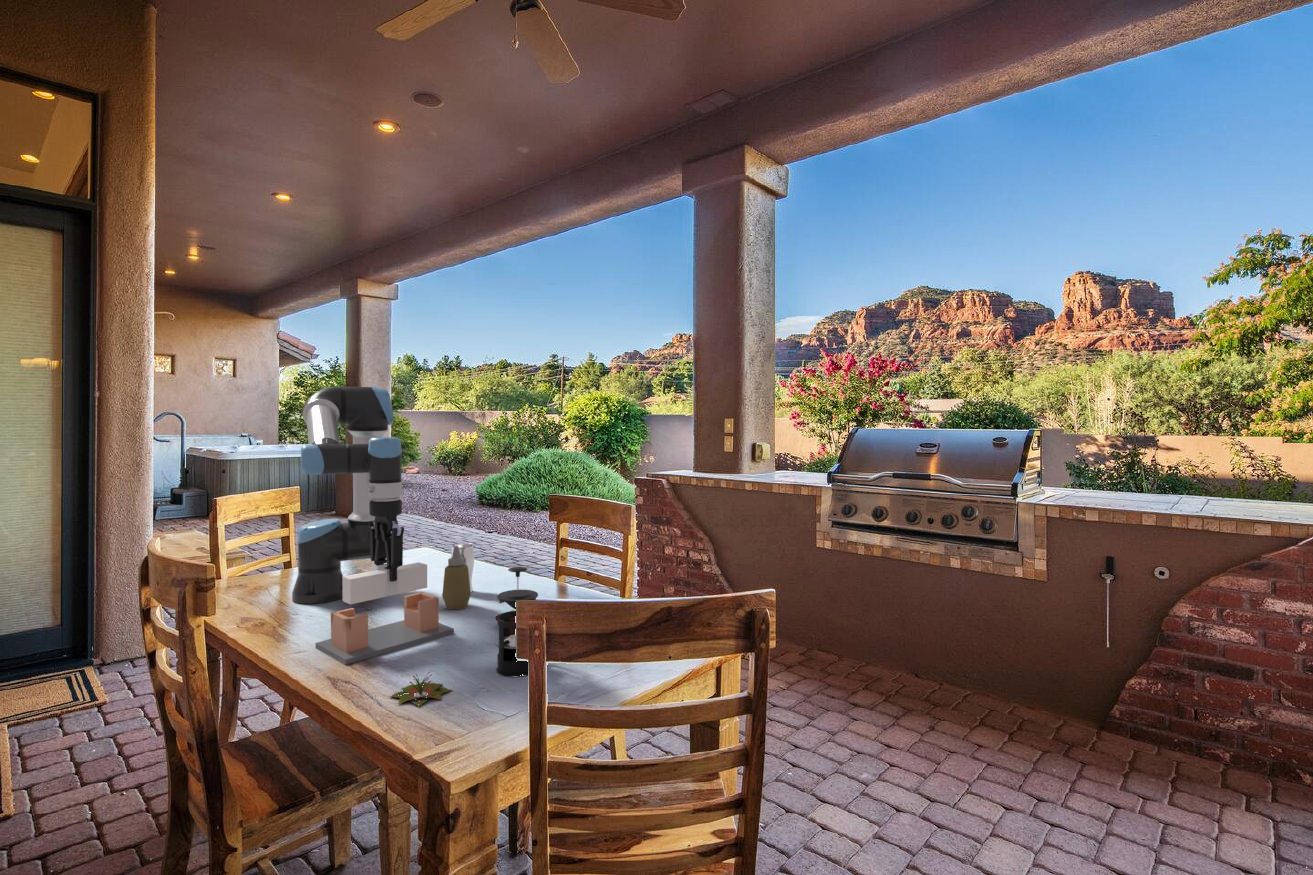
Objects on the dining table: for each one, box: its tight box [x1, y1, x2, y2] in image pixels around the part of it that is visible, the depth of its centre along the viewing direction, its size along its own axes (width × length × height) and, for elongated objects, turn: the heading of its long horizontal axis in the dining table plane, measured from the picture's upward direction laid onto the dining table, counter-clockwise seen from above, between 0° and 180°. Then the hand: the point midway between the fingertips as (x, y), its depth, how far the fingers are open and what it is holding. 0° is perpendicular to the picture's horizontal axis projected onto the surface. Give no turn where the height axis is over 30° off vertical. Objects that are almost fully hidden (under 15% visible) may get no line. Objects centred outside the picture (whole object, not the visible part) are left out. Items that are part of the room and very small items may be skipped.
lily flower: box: [387, 670, 453, 708], centre depth 134 cm, size 12×12×5 cm
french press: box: [496, 566, 539, 677], centre depth 148 cm, size 12×9×23 cm
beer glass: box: [450, 542, 475, 594], centre depth 208 cm, size 7×7×15 cm
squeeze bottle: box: [441, 546, 472, 610], centre depth 192 cm, size 8×8×18 cm
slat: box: [342, 562, 428, 605], centre depth 164 cm, size 4×20×6 cm, turn 140°
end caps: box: [314, 591, 455, 666], centre depth 165 cm, size 16×28×9 cm, turn 140°
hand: (386, 591), depth 164 cm, fingers closed on slat, 4 cm apart
